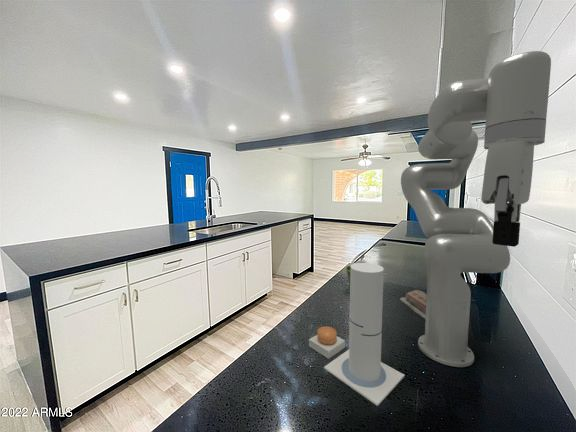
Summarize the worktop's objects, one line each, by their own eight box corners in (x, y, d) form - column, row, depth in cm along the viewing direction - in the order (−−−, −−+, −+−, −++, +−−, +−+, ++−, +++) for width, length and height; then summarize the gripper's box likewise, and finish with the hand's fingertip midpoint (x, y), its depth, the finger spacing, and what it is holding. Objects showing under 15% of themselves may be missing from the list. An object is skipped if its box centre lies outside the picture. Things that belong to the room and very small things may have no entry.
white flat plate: (352, 347, 67) (352, 346, 67) (404, 376, 57) (404, 374, 57) (323, 368, 60) (323, 366, 60) (377, 406, 49) (377, 403, 49)
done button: (325, 330, 71) (325, 324, 71) (340, 338, 67) (340, 331, 67) (313, 337, 68) (313, 330, 68) (328, 346, 64) (328, 339, 64)
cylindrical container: (356, 356, 63) (358, 261, 61) (384, 368, 59) (388, 266, 56) (343, 372, 58) (345, 268, 55) (373, 387, 53) (376, 274, 51)
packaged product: (459, 308, 80) (430, 310, 79) (458, 323, 81) (430, 325, 79) (423, 287, 98) (399, 288, 97) (422, 299, 98) (399, 300, 97)
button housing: (325, 336, 73) (325, 329, 73) (345, 347, 68) (345, 340, 67) (308, 346, 68) (308, 339, 68) (328, 358, 63) (328, 351, 63)
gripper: (495, 145, 49) (489, 237, 50) (471, 134, 40) (465, 247, 41) (550, 139, 43) (541, 242, 45) (537, 124, 34) (527, 255, 35)
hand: (505, 244), depth 43 cm, fingers closed
